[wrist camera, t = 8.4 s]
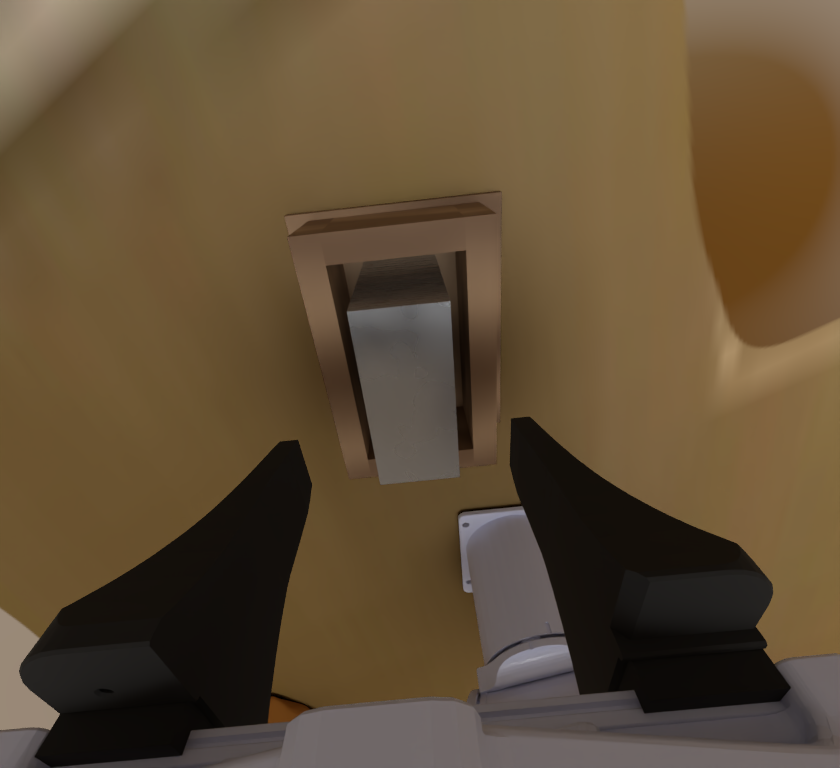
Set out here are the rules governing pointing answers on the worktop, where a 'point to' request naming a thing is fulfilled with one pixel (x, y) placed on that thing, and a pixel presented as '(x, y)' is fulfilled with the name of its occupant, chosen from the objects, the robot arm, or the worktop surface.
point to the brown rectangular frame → (466, 285)
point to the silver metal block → (406, 367)
